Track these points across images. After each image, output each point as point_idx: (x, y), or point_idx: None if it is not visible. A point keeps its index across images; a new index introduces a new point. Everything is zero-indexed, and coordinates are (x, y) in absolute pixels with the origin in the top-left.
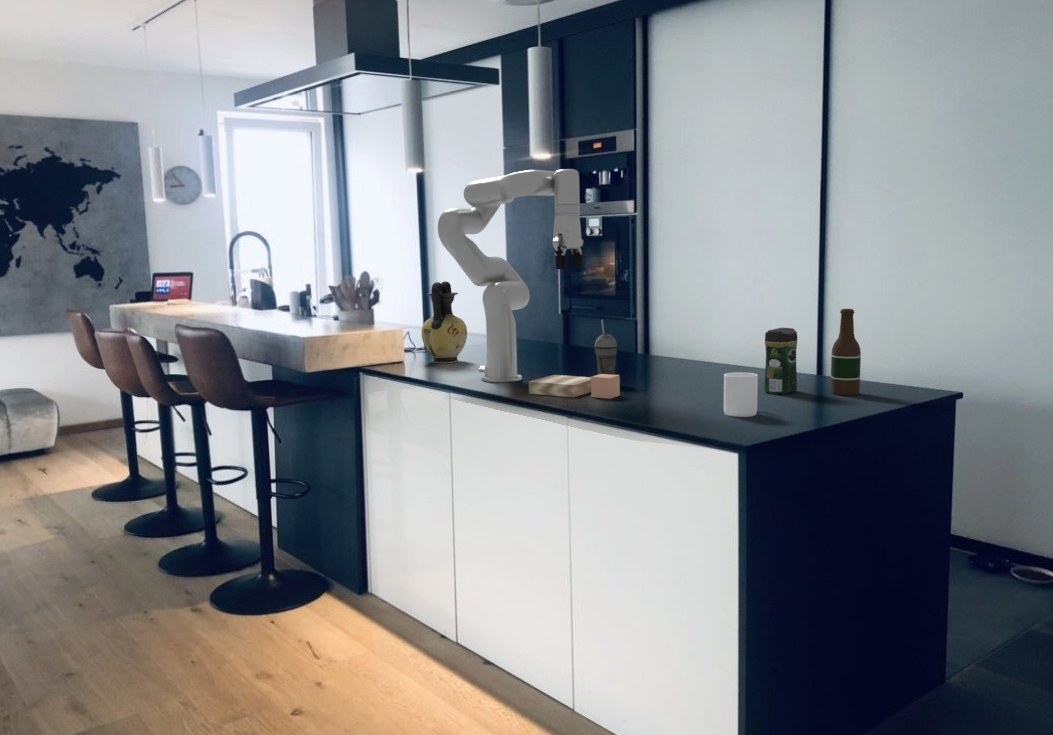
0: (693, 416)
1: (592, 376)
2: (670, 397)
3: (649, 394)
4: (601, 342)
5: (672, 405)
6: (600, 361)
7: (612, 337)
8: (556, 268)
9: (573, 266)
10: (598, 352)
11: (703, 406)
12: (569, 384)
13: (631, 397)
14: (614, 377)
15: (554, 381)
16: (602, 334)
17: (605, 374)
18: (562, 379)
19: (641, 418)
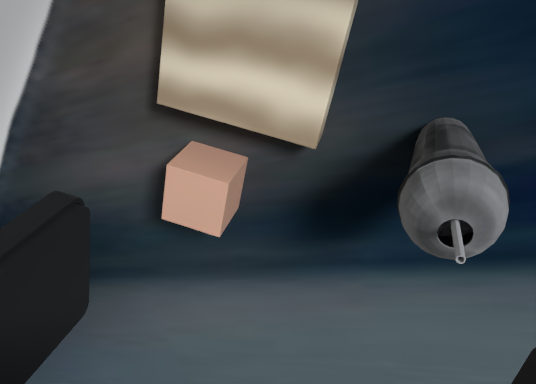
0: (69, 345)
1: (172, 167)
2: (244, 315)
3: (272, 273)
4: (404, 204)
5: (153, 317)
6: (412, 162)
7: (439, 255)
8: (56, 194)
9: (525, 379)
10: (410, 170)
11: (163, 365)
12: (164, 88)
13: (218, 237)
14: (188, 225)
15: (204, 20)
16: (457, 219)
17: (220, 198)
18: (254, 36)
19: None
